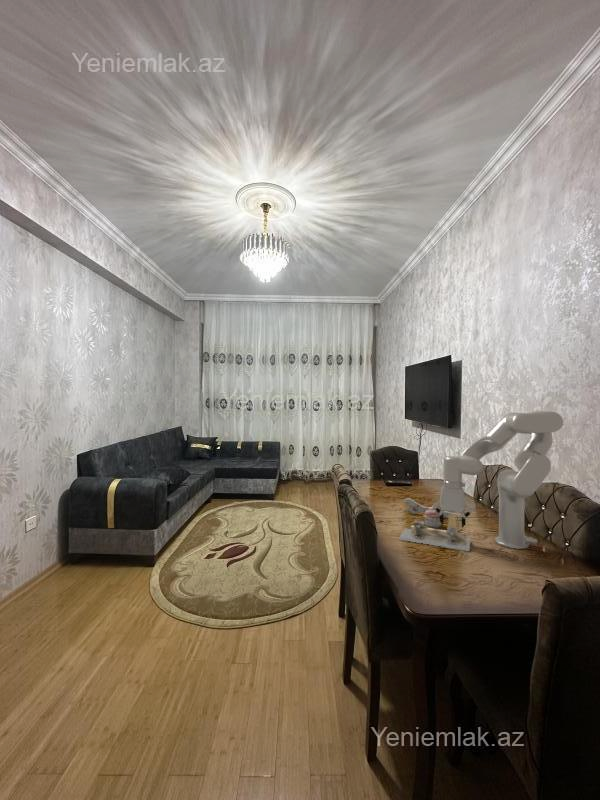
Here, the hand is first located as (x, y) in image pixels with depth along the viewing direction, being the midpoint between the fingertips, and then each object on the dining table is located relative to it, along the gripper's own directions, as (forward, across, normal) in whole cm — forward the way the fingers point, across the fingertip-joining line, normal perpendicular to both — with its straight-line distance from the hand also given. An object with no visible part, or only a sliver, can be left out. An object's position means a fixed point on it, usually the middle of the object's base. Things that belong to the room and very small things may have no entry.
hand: (452, 524), depth 160 cm
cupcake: (+7, +10, -17) cm, 21 cm away
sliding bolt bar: (+6, +6, +1) cm, 8 cm away
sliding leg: (+5, 0, +1) cm, 5 cm away
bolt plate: (+7, +7, +3) cm, 10 cm away
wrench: (+8, +13, -33) cm, 36 cm away
